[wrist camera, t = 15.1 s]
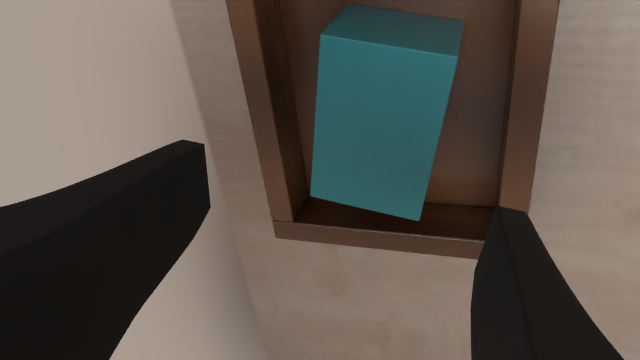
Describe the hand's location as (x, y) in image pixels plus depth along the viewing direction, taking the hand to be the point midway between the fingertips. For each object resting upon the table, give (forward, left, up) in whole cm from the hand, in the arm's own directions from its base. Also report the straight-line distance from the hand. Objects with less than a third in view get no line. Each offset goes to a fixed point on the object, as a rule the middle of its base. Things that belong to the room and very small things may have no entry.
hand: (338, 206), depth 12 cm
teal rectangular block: (0, 0, -8) cm, 8 cm away
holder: (0, 0, -8) cm, 8 cm away
